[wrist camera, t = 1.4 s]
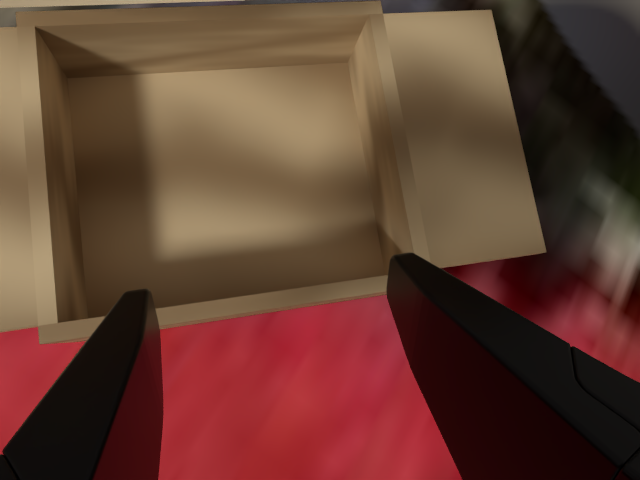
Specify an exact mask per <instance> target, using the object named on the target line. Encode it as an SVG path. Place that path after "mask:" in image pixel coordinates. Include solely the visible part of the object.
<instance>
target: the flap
mask: <svg viewBox="0 0 640 480" xmlns="http://www.w3.org/2000/svg"><path fill="white" fill-rule="evenodd" d="M209 1H243V0H0V8H4V7H38V6H72V5H107V4H141V3H175V2H209Z"/></svg>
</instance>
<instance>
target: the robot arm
mask: <svg viewBox="0 0 640 480" xmlns="http://www.w3.org/2000/svg"><path fill="white" fill-rule="evenodd" d="M386 292H387V299H388V302H389V305H390V308H391V311H392V314H393V317H394V320H395V323H396V326H397V329H398V332H399V335H400V338H401V341H402V344H403V347H404V350H405V353H406V356H407V359H408V362H409V365H410V368H411V370H412V372H413V375H414V377H415V379H416V381H417V383H418V385H419V388H420V390H421V392H422V394H423V396H424V398H425V400H426V403H427V405H428V407H429V409H430V411H431V413H432V415H433V418H434V420H435V422H436V424H437V426H438V428H439V430H440V432H441V435H442V437H443V439H444V441H445V443H446V445H447V447H448V450H449V452H450V454H451V456H452V458H453V460H454V462H455V464H456V467H457V469H458V471H459V473H460V475H461V477H462V479H463V480H640V383H639V382H637V381H635V380H633V379H631V378H629V377H627V376H625V375H623V374H622V373H620V372H618V371H616V370H615V369H613V368H611V367H609V366H607V365H606V364H604V363H602V362H600V361H598V360H597V359H595V358H593V357H591V356H590V355H588V354H586V353H585V352H583V351H581V350H579V349H578V348H576V347H574V346H573V347H570V344H569V343H567V342H565V341H564V340H562V339H560V338H559V337H557V336H555V335H553V334H552V333H550V332H548V331H547V330H545V329H543V328H541V327H540V326H538V325H536V324H535V323H533V322H531V321H529V320H528V319H526V318H524V317H523V316H521V315H519V314H517V313H516V312H514V311H512V310H511V309H509V308H507V307H506V306H504V305H502V304H500V303H499V302H497V301H495V300H494V299H492V298H490V297H488V296H487V295H485V294H483V293H482V292H480V291H478V290H476V289H475V288H473V287H471V286H470V285H468V284H466V283H464V282H463V281H461V280H459V279H458V278H456V277H454V276H452V275H451V274H449V273H447V272H446V271H444V270H442V269H440V268H439V267H437V266H435V265H434V264H432V263H430V262H428V261H427V260H425V259H423V258H422V257H420V256H418V255H416V254H414V253H411V252H409V253H402V254H395V255H393V256H392V257H391V259H390V262H389V270H388V279H387V287H386ZM162 428H163V384H162V363H161V341H160V328H159V322H158V318H157V314H156V309H155V305H154V301H153V296H152V293H151V291H150V290H149V289H147V288H145V289H137V290H130V291H126V292H125V293H123V294H122V296H121V297H120V298H119V300H118V301H117V302H116V303H115V305H114V306H113V307H112V309H111V310H110V311H109V313H108V314H107V315H106V316H105V318H104V319H103V320H102V322H101V323H100V324H99V326H98V327H97V328H96V329H95V331H94V332H93V333H92V335H91V336H90V337H89V339H88V340H87V341H86V342H85V344H84V345H83V346H82V348H81V349H80V350H79V352H78V353H77V354H76V355H75V357H74V358H73V359H72V361H71V362H70V363H69V365H68V366H67V367H66V368H65V370H64V371H63V372H62V374H61V375H60V376H59V378H58V379H57V380H56V381H55V383H54V384H53V385H52V387H51V388H50V389H49V390H48V392H47V393H46V394H45V396H44V397H43V398H42V400H41V401H40V402H39V403H38V405H37V406H36V407H35V409H34V410H33V411H32V413H31V414H30V415H29V416H28V418H27V419H26V420H25V422H24V423H23V424H22V426H21V427H20V428H19V429H18V431H17V432H16V433H15V435H14V436H13V437H12V439H11V440H10V441H9V442H8V444H7V445H6V446H5V448H4V449H3V451H2V452H3V454H4V455H2V454H1V455H0V480H158V475H159V463H160V451H161V440H162Z"/></svg>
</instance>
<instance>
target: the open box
mask: <svg viewBox="0 0 640 480" xmlns="http://www.w3.org/2000/svg"><path fill="white" fill-rule="evenodd" d="M16 23H17V27H4V28H0V332H6V331H13V330H20V329H27V328H34V327H38V331H39V344H51V343H67V342H81V341H87V340H88V339H89V337H90V336H91V335H92V333H93V332H94V331H95V329H96V328H97V327H98V326H99V324H100V323H101V322H102V320H103V319H104V318H105V316H106V315H107V314H108V313H109V311H110V310H111V309H112V307H113V306H114V305H115V303H116V302H117V301H118V300H119V298H120V297H121V296H122V294H123V293H125V292H126V291H130V290H137V289H145V288H147V289H149V290H150V291H151V293H152V296H153V301H154V305H155V309H156V314H157V318H158V322H159V328H160V329H165V328H172V327H178V326H185V325H191V324H198V323H204V322H211V321H217V320H224V319H230V318H237V317H243V316H250V315H256V314H263V313H269V312H276V311H282V310H289V309H295V308H302V307H308V306H315V305H321V304H328V303H335V302H341V301H348V300H354V299H361V298H367V297H374V296H380V295H387V292H386V287H387V279H388V270H389V262H390V259H391V257H392V256H393V255H395V254H402V253H409V252H411V253H414V254H416V255H418V256H420V257H422V258H423V259H425V260H427V261H428V262H430V263H432V264H434V265H435V266H437V267H439V268H445V267H452V266H459V265H465V264H472V263H479V262H486V261H493V260H500V259H507V258H513V257H520V256H527V255H534V254H540V253H544V252H546V248H545V244H544V239H543V235H542V231H541V226H540V222H539V217H538V213H537V209H536V204H535V200H534V195H533V191H532V187H531V182H530V178H529V173H528V169H527V165H526V160H525V156H524V151H523V147H522V143H521V138H520V134H519V129H518V125H517V121H516V116H515V112H514V107H513V103H512V99H511V94H510V90H509V85H508V81H507V77H506V72H505V68H504V63H503V59H502V54H501V50H500V46H499V41H498V37H497V32H496V28H495V24H494V19H493V15H492V10H471V11H443V12H416V13H389V14H383V11H382V6H381V1H354V2H322V3H290V4H257V5H225V6H193V7H161V8H128V9H96V10H64V11H31V12H16Z"/></svg>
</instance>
